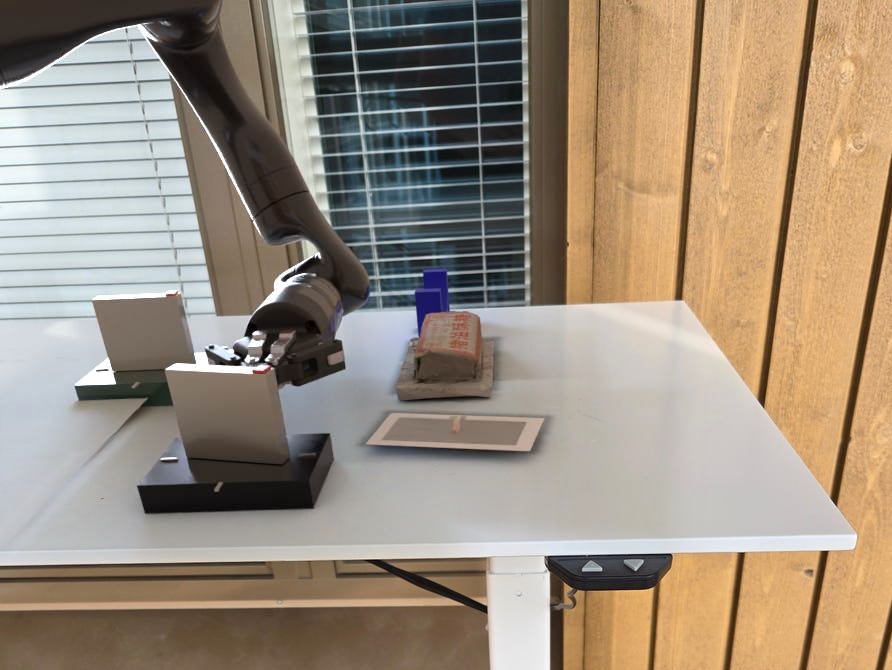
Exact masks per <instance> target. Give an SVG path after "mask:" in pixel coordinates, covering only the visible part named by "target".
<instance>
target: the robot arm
mask: <svg viewBox="0 0 892 670" xmlns="http://www.w3.org/2000/svg"><path fill="white" fill-rule="evenodd" d="M223 2H224V0H0V90H2V89H5V88H9V87H12V86H15V85H18V84H21V83H23V82H26V81H28V80H30V79H32V78H34V77H35V76H37V75H39V74H41V73H42V72H44V71H45V70H47V69H48V68H50V67H51V66H53V65H54V64H56V63H58V62H59V61H61V60H62V59H64V58H65V57H66V56H68V55H69V54H70V53H72V52H74V51H75V50H76V49H78V48H79V47H81V46H83V45H84V44H85V43H87V42H89V41H91V40H93V39H95V38H97V37H100V36H102V35H104V34H107V33H110V32H114V31H117V30H121V29H127V28H133V27H136V26H137V27H138V29H139V31H140V32H141V33H142V35H143V36H144V38H145V40H146V41H147V42H148V44H149V45H150V47H151V48H152V50H153V52H154V53H155V54H156V56H157V57H158V59H159V60H160V61H161V63H162V64H163V66H164V67H165V69H167V71H168V72H169V74H170V76H171V77H172V78H173V80H174V82H175V83H176V84H177V86H178V87H179V89H180V90H181V92H182V93H183V95H184V97H185V99H187V101H188V103H189V105H190V106H191V107H192V109H193V111H194V113H195V114H196V116H197V117H198V119H199V121H200V123H201V124H202V126H203V127H204V129H205V131H206V133H207V134H208V136H209V138H210V140H211V142H212V144H213V145H214V147H215V149H216V151H217V152H218V155H219V157H220V158H221V160H222V163H223V165H224V166H225V169H226V170H227V172H228V175H229V176H230V178H231V180H232V182H233V185H234V186H235V188H236V190H237V192H238V194H239V196H240V198H241V200H242V203H243V204H244V206H245V208H246V210H247V212H248V214H249V216H250V218H251V220H252V222H253V224H254V226H255V228H256V230H257V232H258V233H259V236H260V238H261V239H262V240H263V241H264V243H265V244H266V245H268V246H271V247H274V248H275V247H277V248H279V247H283V246H287V245H291V244H294V243H297V242H301V241H308V242H309V243H310V244H311V245H312V246H313V247H315V249H316V251H317V253H315V254H313V255H312V256H310V257H308V258H307V259H305V260H303V261H301V262H300V263H298V264H296V265H294V266H292V267H291V268H289V269H287V270H286V271H284V272H283V273H281V274H280V275H279V276H278V277H277V278H276V279H275V281H274V284H273V290H274V291H273V292H271V293H270V294H269V295H268V296H267V298H266V299H265V300H264V301H263V302H262V303H261V304H260V305H259V307H258V308H257V309H256V310H255V311H254V312H253V314H251V316H250V317H249V320H248V322H247V324H246V326H245V330H244V335H243V337H242V338H240V339H238V340H236V341H235V342H233V344H232V349H228V346H220V345H218V344H214V343H213V344H212V343H211V344H208V345H205V346H204V351H205V352H204V353H206V357H207V361H208V365H216V366H238V367H257V366H259V365H270V366H271V368H274V369H275V374H276V380H277V386H278V390H281V389H283V388H284V387H285V386H286V385H291V386H292V387H297V388H299V387H303V386H305V385H307V384H310V383H313V382H315V381H318V380H320V379H323V378H325V377H328V376H331V375H333V374H336V373H339V372H342V371H345V370H346V361H345V351H344V344H343V340H342V339H338V338H336V335H337V332H338V330H339V328H340V326H341V323H342V321H343V318H344V317H345V316H347V315H349V314H352V313H353V312H355V311H357V310H358V309H360V308H362V307H363V306H365V305H366V304H367V302H368V301H369V299H370V294H371V280H370V276H369V273H368V271H367V269H366V268H365V266H364V264H363V262H361V260H360V259H359V258H358V256H356V254H355V253H354V251H353V250H351V248H350V247H349V246H348V245H347V244H346V243H345V241H343V239H342V238H341V237H340V236H339V235H338V233H337V232H336V230H335V229H334V228H333V227H332V226H331V224H330V223H329V221H328V220H327V218H326V217H325V216H324V214H323V213H322V211H321V209H320V208H319V207H318V205H317V203H316V201H315V198H314V197H313V195H312V193H311V191H310V189H309V187H308V184H307V183H306V181H305V178H304V177H303V175H302V172H301V170H300V169H299V167H298V165H297V162H296V160H295V158H294V157H293V155H292V153H291V150H290V149H289V148H288V146H287V144H286V142H285V141H284V140H283V138H282V136H281V135H280V134H279V132H278V131H277V130H276V128H275V127H274V125H273V124H272V123H271V122H270V120H269V119H268V118H267V117H266V115H265V114H264V113H263V112H262V110H261V109H260V108H259V107H258V105H257V104H256V103H255V101H254V100H253V98H252V97H251V95H250V94H249V92H248V91H247V89H246V87H245V86H244V84H243V82H242V80H241V79H240V77H239V75H238V73H237V71H236V69H235V66H234V64H233V61H232V59H231V55H230V54H229V51H228V48H227V44H226V42H225V40H224V36H223V33H222V30H221V27H220V23H219V22H220V19H221V13H222V12H221V11H222V7H223Z"/></svg>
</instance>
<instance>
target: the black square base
mask: <svg viewBox="0 0 892 670" xmlns="http://www.w3.org/2000/svg"><path fill="white" fill-rule="evenodd" d="M286 436H287V441H288V447H289V452H290V458H289V459H288V460H286V461H285V462H284V463H283V464H282V465H281V464H268V463H255V462H241V461H228V460H215V459H202V458H189V457H186V453H185V449H184V445H183V441H182V437H180V438H178V437H177V438H174V439H173V441H172V442H171V443H170V445H169V446H168V447H167V448H166V450H165V451H164V452H163V453H162V454H161V455H160V457H159V458H158V459H157V460H156V461H155V463H154V464H153V465H152V466H151V468H150V469H149V470H148V471H147V472H146V474H145V475H144V476H143V477H142V479H141V480H140V481H139V483H137V485H136V487H137V491H138V495H139V498H140V503H141V505H142V509H143V512H144V514H175V513H206V512H208V513H209V512H238V511H239V512H240V511H241V512H242V511H269V510H270V511H271V510H272V511H273V510H275V511H276V510H305V509H307V510H308V509H309V510H310V509H315V506H316V504H317V502H318V499H319V496H320V494H321V492H322V489H323V488H324V484H325V481H326V480H327V478H328V475H329V473H330V470H331V468H332V465H333V463H334V460H335V455H334V449H333V443H332V442H333V441H332V438H331V436H332V435H331V432H322V433H321V432H320V433H294V434H293V433H292V434H286Z"/></svg>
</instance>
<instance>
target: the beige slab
mask: <svg viewBox="0 0 892 670" xmlns="http://www.w3.org/2000/svg"><path fill="white" fill-rule="evenodd" d="M91 302H92V306H93V311H94V313H95V316H96V317H95V318H96V320H97V324H98V327H99V331H100V334H101V338H102V341H103V345H104V348H105V351H106V356H107V358H108V359H109V363H110V366H111V370H112V371H131V370H156V369H167V368H169V367H170V366H172V365H174V364H194V365H196V364H197V362H196V357H195V353H196V352H195V349H194V345H193V340H192V336H191V331H190V327H189V322H188V319H187V314H186V309H185V305H184V301H183V297H182V292H179V290H168V291H166V292H163V293H161V292H160V293H159V292H158V293H137V294H135V293H134V294H115V295H112V294H111V295H97V296H96V297H94V298H92V299H91Z"/></svg>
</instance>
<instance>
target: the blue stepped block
mask: <svg viewBox="0 0 892 670" xmlns="http://www.w3.org/2000/svg"><path fill="white" fill-rule="evenodd" d="M422 279H423V288H416V289H415V290H414V299H415V312H416V322H417V323H416V324H417V334H418V335H417V337H418V338H419V337H420V333H421V327H422V323H423V321H424V319H425V317H426V315H427V314H430V313H440V312H457V311H456V310H452V311H451V309H450V293H449V292H450V291H449V280H448V279H449V277H448V268H431V269H423V271H422Z"/></svg>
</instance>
